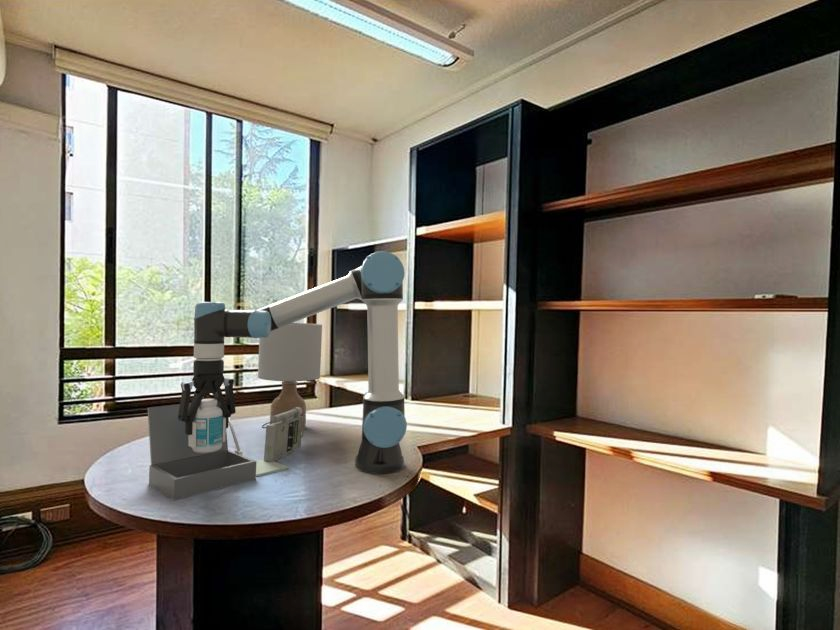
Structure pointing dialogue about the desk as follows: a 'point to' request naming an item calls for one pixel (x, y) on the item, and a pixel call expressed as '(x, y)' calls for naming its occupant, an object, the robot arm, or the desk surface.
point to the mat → (268, 467)
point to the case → (190, 459)
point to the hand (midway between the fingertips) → (207, 443)
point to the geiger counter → (283, 434)
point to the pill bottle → (208, 427)
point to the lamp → (290, 362)
